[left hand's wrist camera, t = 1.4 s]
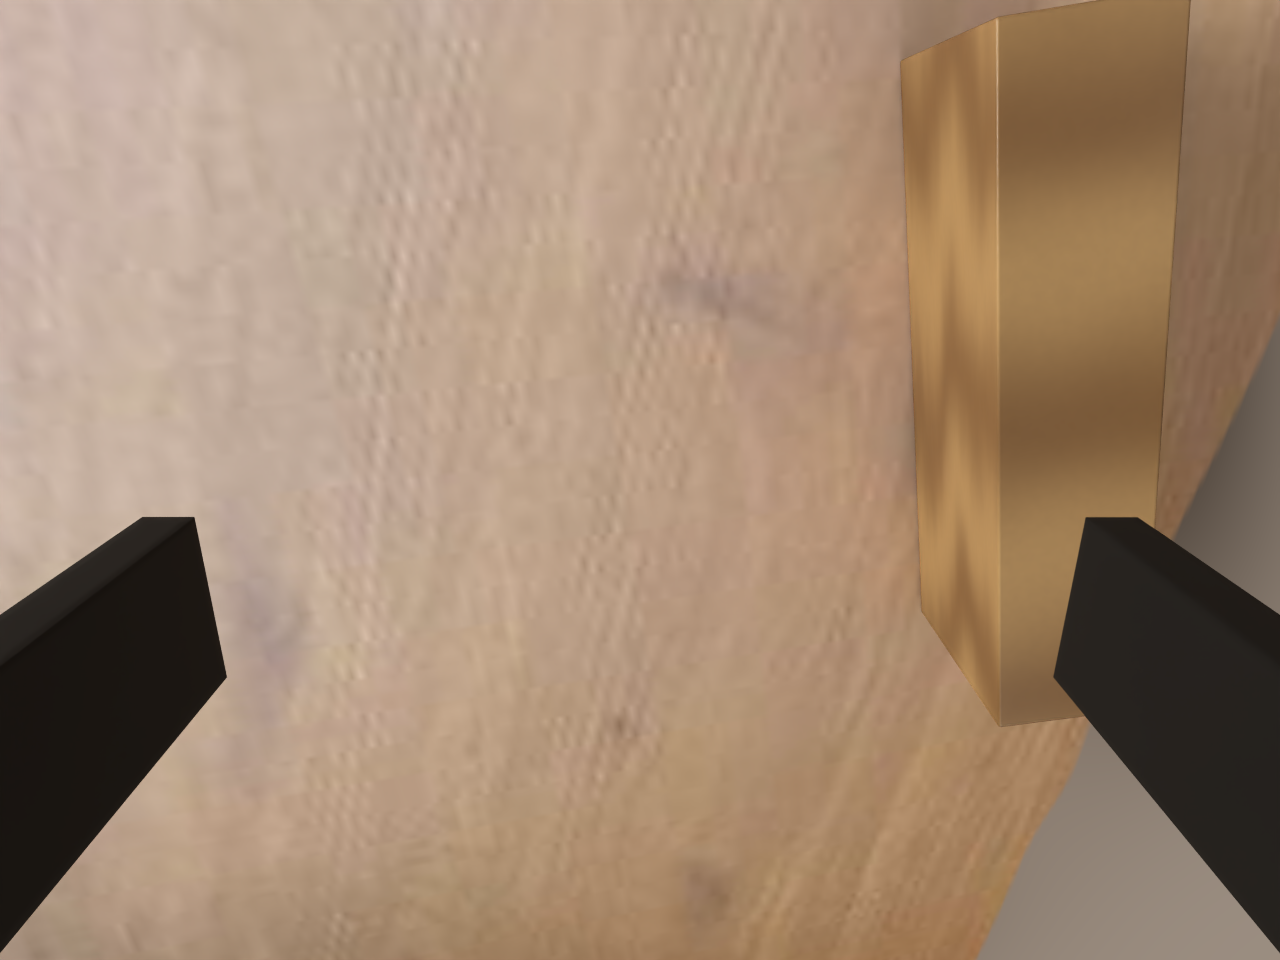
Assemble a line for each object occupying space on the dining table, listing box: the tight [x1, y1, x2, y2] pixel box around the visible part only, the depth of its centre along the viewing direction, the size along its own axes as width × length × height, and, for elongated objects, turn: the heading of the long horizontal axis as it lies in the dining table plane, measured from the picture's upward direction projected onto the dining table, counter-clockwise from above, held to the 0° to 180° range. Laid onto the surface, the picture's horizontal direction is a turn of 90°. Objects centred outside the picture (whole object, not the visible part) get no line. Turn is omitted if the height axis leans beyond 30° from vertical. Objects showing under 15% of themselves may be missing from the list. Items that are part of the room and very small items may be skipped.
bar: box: [900, 0, 1191, 727], centre depth 27 cm, size 21×5×8 cm, turn 9°
